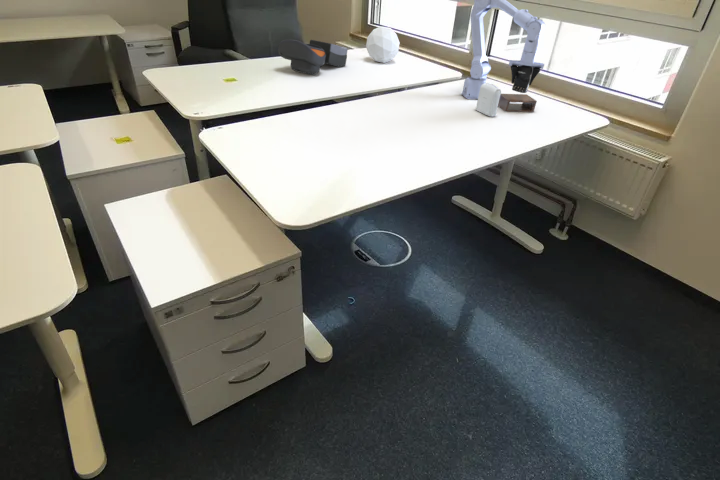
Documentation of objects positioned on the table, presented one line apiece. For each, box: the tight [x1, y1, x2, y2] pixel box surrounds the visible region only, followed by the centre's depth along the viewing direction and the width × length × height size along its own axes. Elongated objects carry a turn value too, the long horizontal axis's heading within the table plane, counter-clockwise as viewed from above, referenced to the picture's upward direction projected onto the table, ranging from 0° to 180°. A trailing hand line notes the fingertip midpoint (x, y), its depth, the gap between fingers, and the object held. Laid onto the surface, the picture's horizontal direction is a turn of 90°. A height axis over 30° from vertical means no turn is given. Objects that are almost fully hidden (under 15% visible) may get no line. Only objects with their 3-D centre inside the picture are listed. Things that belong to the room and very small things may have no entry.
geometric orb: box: [365, 26, 401, 64], centre depth 252 cm, size 19×20×20 cm
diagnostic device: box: [277, 39, 348, 75], centre depth 228 cm, size 38×17×22 cm
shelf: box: [498, 93, 538, 113], centre depth 195 cm, size 14×10×5 cm
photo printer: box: [475, 82, 502, 118], centre depth 184 cm, size 10×4×12 cm, turn 26°
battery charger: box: [511, 65, 533, 94], centre depth 191 cm, size 7×4×11 cm, turn 43°
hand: (521, 83), depth 192 cm, fingers closed on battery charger, 7 cm apart
